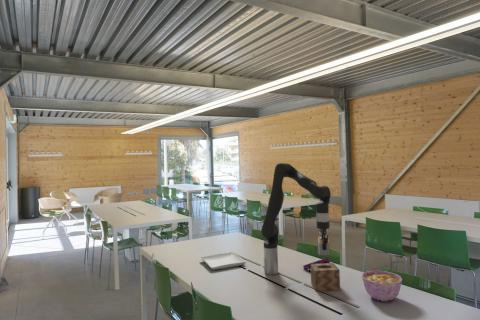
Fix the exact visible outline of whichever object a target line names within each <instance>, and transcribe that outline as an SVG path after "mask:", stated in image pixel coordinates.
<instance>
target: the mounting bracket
mask: <svg viewBox="0 0 480 320" xmlns="http://www.w3.org/2000/svg"><path fill="white" fill-rule="evenodd" d="M322 263H331V262H330V259H329V257H325V258H321V259H318V260H316V261H313V262H310V263H307V264H304V265H303V269H307V268H308V269H309V268H311V264H322Z"/></svg>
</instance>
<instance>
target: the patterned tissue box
mask: <svg viewBox="0 0 480 320" xmlns="http://www.w3.org/2000/svg"><path fill="white" fill-rule="evenodd" d="M340 272H341V271H340V269H339V268H338V266H336V264H335V263H334V262H330V263H322V264H311V267H310V284H311V285H312V288H313V289H314V291H315V292H336V291H337V292H338V291H339V290H340V291H341V281H340V280H341V278H340V276H341V274H340Z"/></svg>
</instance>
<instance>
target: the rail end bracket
mask: <svg viewBox="0 0 480 320" xmlns="http://www.w3.org/2000/svg"><path fill="white" fill-rule="evenodd" d="M326 246H327V250H323V247H322V240H321V237H319V236H318V237H317V251H318V255H319V256H330V254H331V250H330V248H331V247H330V238H329V236H328V243H327V244H326Z"/></svg>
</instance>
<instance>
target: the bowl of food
mask: <svg viewBox="0 0 480 320" xmlns="http://www.w3.org/2000/svg"><path fill="white" fill-rule="evenodd" d="M361 278H362V281H363V286H364V288H365V291H366V293H367V294H368V295H369V296H370V297H371V298H372V299H375V300H376V299H377V301H379V300H381V301H380V302H389V301H388V300H390V301H392V300H395V299H396V298H397V297H398V296H399V293H400V290H401V287H402V283H403V278H402V277H401V276H400V275H398V274H397V273H393V272H391V271H387V270H368V271H365V272H363V273H362V274H361Z"/></svg>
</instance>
